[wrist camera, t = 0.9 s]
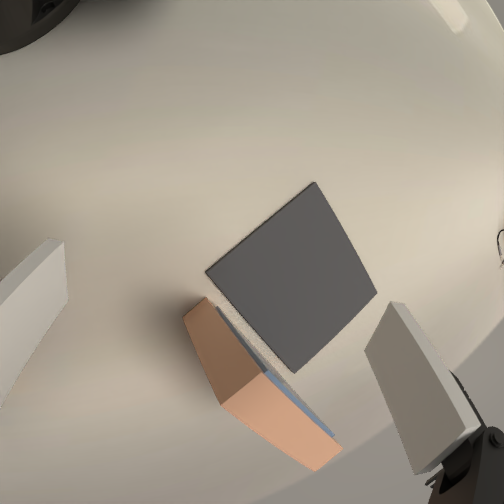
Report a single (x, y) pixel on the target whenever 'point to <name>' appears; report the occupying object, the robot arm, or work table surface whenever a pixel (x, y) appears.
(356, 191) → the work table surface
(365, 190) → the work table surface
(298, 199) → the mat
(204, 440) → the work table surface
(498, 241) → the multimeter
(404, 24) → the work table surface
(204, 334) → the tile
